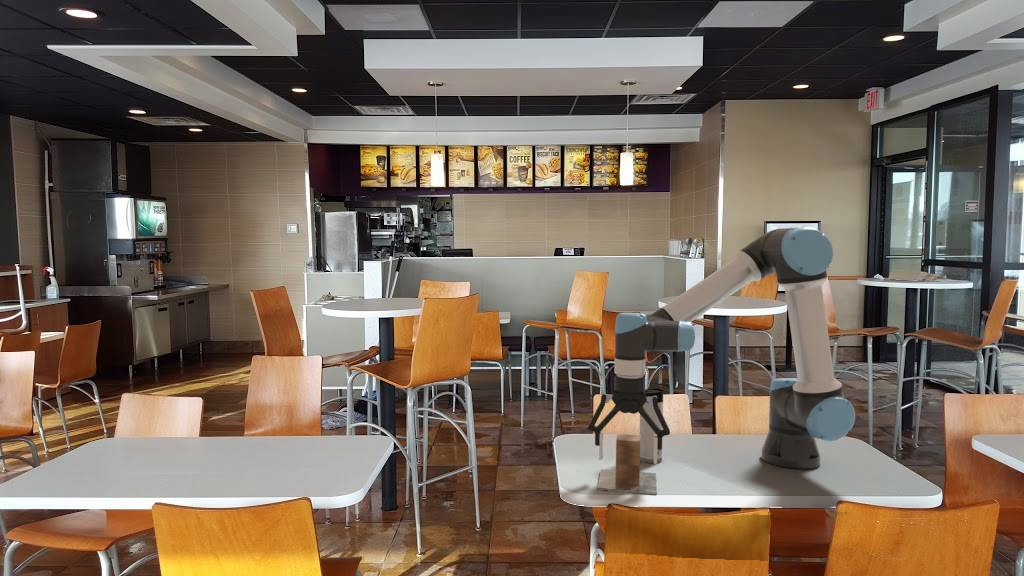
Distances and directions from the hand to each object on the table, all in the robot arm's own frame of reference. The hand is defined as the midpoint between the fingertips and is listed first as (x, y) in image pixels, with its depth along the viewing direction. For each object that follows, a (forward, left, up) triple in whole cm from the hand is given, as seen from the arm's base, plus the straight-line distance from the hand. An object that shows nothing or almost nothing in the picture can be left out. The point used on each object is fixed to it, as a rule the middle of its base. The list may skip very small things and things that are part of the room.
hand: (627, 460), depth 167 cm
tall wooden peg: (0, 0, -5) cm, 5 cm away
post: (0, 0, -6) cm, 6 cm away
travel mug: (-6, -20, -6) cm, 22 cm away
